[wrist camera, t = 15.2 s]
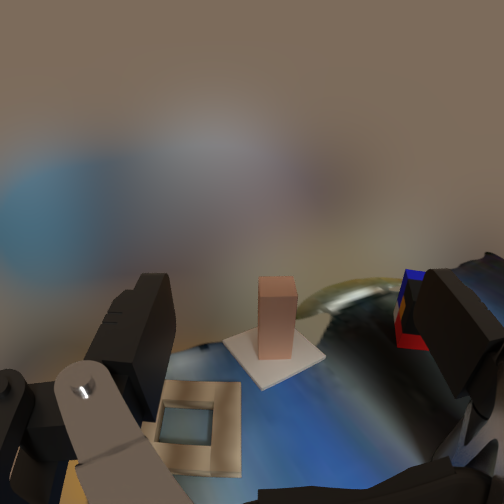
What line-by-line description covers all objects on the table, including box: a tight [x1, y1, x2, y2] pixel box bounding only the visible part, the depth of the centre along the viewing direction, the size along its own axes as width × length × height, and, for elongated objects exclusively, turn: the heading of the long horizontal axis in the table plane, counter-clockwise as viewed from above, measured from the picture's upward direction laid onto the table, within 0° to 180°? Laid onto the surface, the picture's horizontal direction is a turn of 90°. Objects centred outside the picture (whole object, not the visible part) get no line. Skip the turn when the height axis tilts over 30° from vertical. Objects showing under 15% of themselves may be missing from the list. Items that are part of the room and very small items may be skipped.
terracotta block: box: [258, 276, 298, 360], centre depth 47 cm, size 5×5×12 cm
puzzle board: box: [141, 380, 241, 478], centre depth 36 cm, size 14×14×2 cm
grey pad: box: [222, 327, 326, 391], centre depth 50 cm, size 12×12×1 cm
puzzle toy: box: [393, 269, 429, 351], centre depth 50 cm, size 10×10×10 cm
